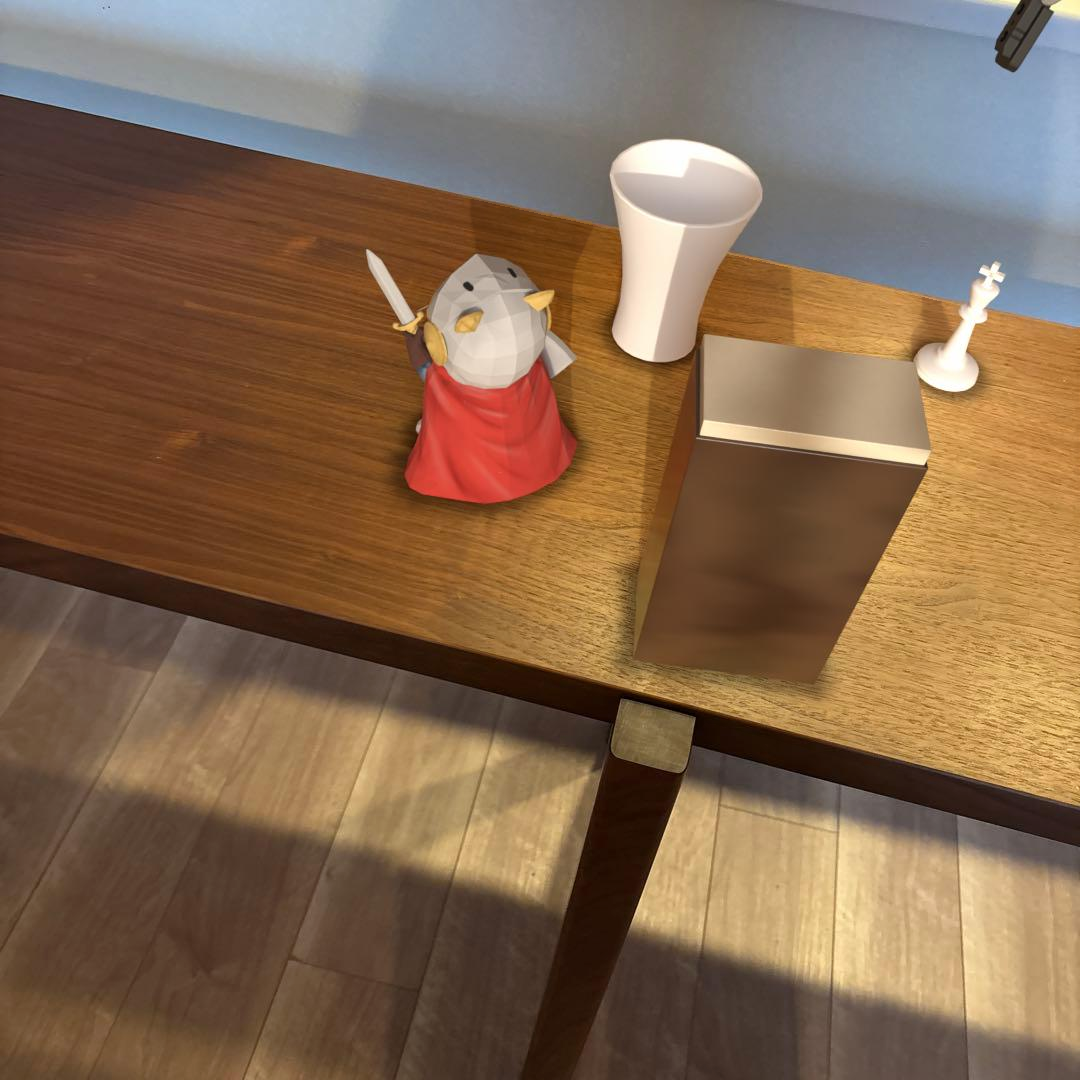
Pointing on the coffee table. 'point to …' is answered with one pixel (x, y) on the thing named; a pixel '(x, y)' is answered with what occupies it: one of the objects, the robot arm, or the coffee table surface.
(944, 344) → the chess piece
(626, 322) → the cup
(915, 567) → the coffee table surface
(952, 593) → the coffee table surface
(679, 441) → the rectangular box
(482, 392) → the figurine
